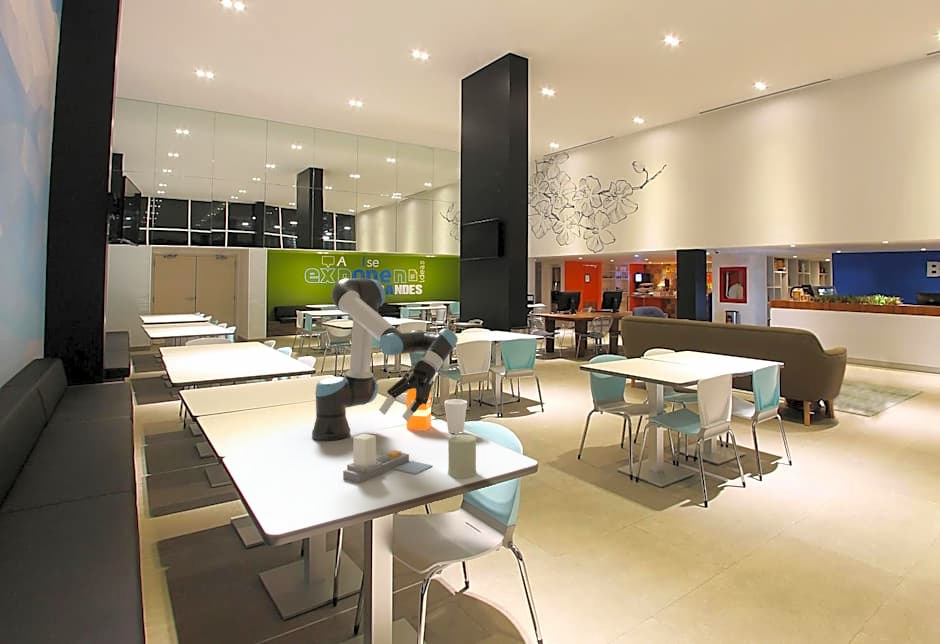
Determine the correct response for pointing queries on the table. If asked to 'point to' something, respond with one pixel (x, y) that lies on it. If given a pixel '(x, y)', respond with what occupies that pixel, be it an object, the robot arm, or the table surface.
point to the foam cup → (455, 415)
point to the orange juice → (419, 413)
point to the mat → (413, 467)
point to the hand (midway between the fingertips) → (393, 415)
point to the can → (462, 456)
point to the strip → (375, 467)
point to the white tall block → (364, 450)
